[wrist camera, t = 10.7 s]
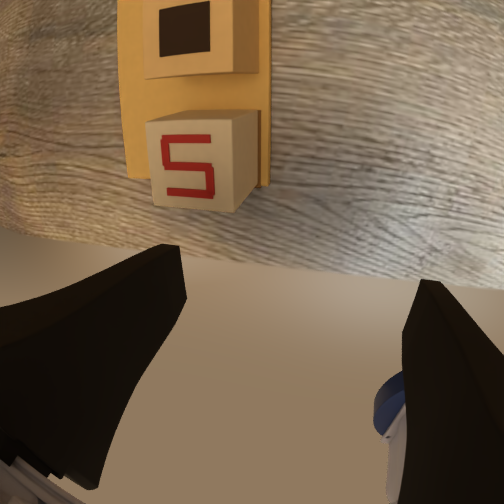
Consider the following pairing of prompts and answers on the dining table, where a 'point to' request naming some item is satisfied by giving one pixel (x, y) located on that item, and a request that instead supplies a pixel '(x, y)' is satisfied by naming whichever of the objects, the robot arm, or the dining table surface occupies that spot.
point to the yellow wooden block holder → (192, 67)
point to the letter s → (203, 158)
